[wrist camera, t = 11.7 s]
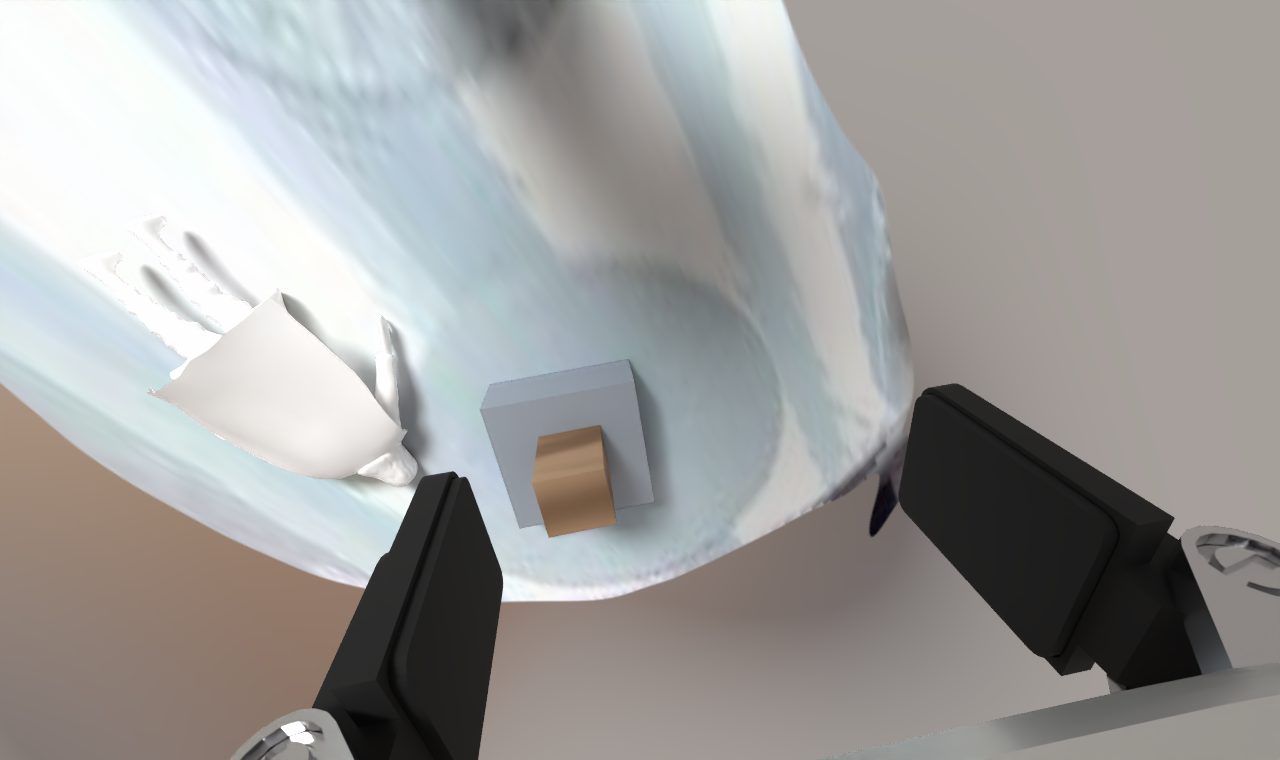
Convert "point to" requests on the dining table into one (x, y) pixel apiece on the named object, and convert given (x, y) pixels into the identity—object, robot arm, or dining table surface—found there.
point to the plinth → (568, 429)
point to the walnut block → (573, 481)
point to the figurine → (268, 376)
